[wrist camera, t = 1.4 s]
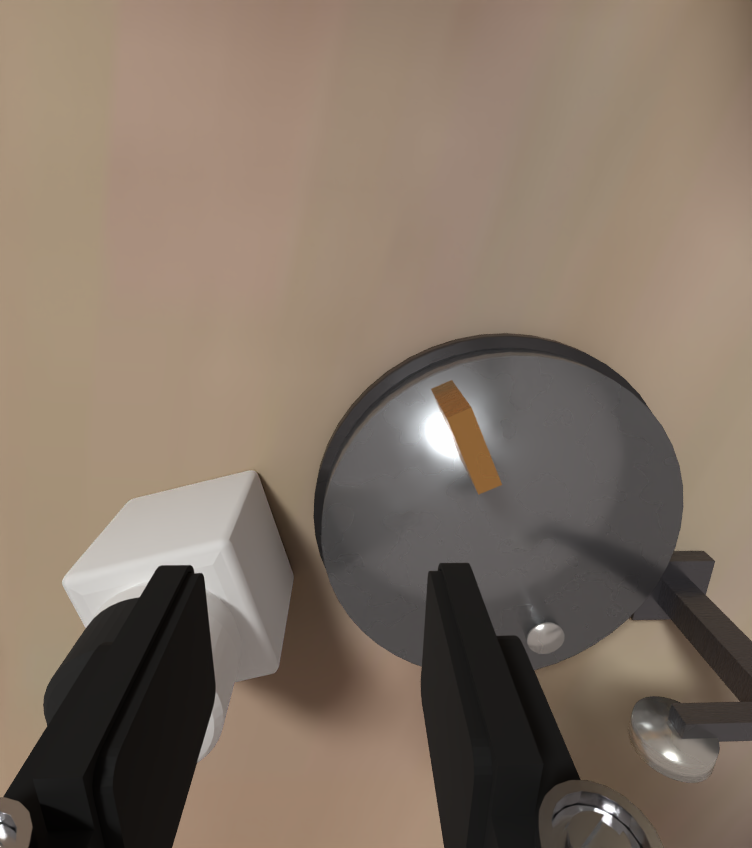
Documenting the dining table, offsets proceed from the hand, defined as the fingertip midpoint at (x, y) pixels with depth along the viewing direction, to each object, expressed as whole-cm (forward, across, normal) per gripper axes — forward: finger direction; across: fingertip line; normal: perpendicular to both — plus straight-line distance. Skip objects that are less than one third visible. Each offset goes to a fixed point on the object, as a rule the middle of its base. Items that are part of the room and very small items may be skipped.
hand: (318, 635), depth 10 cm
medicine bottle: (+18, +7, +9) cm, 21 cm away
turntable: (+16, -8, +7) cm, 19 cm away
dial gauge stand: (+17, -17, +12) cm, 27 cm away
